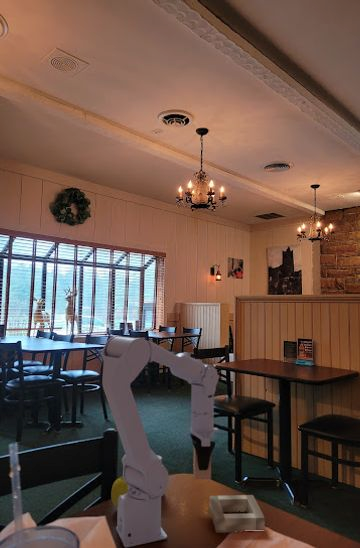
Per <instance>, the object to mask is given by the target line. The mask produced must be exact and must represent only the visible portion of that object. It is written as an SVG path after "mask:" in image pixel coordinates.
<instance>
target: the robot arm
mask: <svg viewBox="0 0 360 548" xmlns="http://www.w3.org/2000/svg"><path fill="white" fill-rule="evenodd" d="M100 354H101V358H102V361H103V368H102V382H101V383H102V384H101V385H102V388H103V391H104V394H105V396H106V397H105V398H106V400H107V403H108V406H109V409H110V412H111V415H112V418H113V420H114V423H115V426H116V431H117V433H118V436H119V439H120V442H121V444H122V447H123V451H124V455H123V457H122V458H121V463H122V476H123V478H124V480H125V482H126V483H128V490H129V492H128V493H126V494H124V495H121V496H119V498H118V508H117V513H116V515H117V518H116V519H117V520H116V521H117V523H116V532H117V534H118V536H119V538H120V540H121V543H122V545H123V546H124V548H130V547H136V546H139V545H143V544H150V543H154V542H158V541H162V540H166V539H167V538H168V535H167V533H166V532H165V531H164V529H163V528H162V526H161V525H162V497H161V495H163V492H164V493H165V491H166V490H167V487H168V484H169V481H170V480H169V479H170V478H169V477H170V476H169V471H168V470H167V468H166V467H165V466H164V465H163V464H162V463H161V461H160V459H159V458H158V457H157V454H156V453H155V452H154V451H153V449H152V448H151V446H150V443H149V440H148V438H147V435H146V432H145V428H144V425H143V421H142V419H141V415H140V412H139V410H138V409H139V408H138V406H137V403H136V400H135V397H134V394H133V392H132V388H131V384H132V382H134V381H135V380H136V378H137V377H138V375H139V374H141V372H142V371H143V369H144V368H145V366H147V364H148V363H152V362H155V363H157V364H160V365H162V366H164V367H168V368H169V370H170V373H171V374H172V375H173V376H174V377H178V378H179V379H182V380H184V381H186V382H187V383H188V384H189V385H191V394H190V395H191V399H190V400H191V402H190V403H191V405H190V406H191V407H190V409H191V411H190V413H191V414H190V416H191V417H190V423H191V424H190V429H189V430H190V433H189V435H190V438H191V442H192V445H193V446H192V447H193V449H194V448H195V450H196V454H197V462H198V467H199V470H208V466H209V461H210V456H211V457H212V453H213V450H214V448H215V447H216V442H215V441H214V440H213V441H211V439H212V436H214V434H215V433H216V434H217V433H219V428H218V427H214V425H215V424H214V415H215V412H214V409H215V406H214V404H215V403H214V402H215V400H214V396H215V394H216V393H215V392H216V388H217V385H218V382H219V379H220V375H219V373H218V371H217V369H216V367H214V366H213V365H211V364H206V363H204V362H203V360H202V359H199V358H193V357H191V356H192V355H191V353H189V352H186V351H184V352H179V353H176V354H175V353H173V352H172V351H170V350H168V349H165V348H163V347H162V346H160V345H159V344H157V343H155V342H154V341H150V340H146V339H145V338H143V337H137V338H136V337H128V336H127V337H126V336H121V335H113V336H112V337H110V338H108V339H107V341H106V343H105V344H104V346H103V348H102V350H101V352H100ZM162 465H163V466H164V467H163V466H162ZM163 496H164V495H163Z"/></svg>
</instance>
